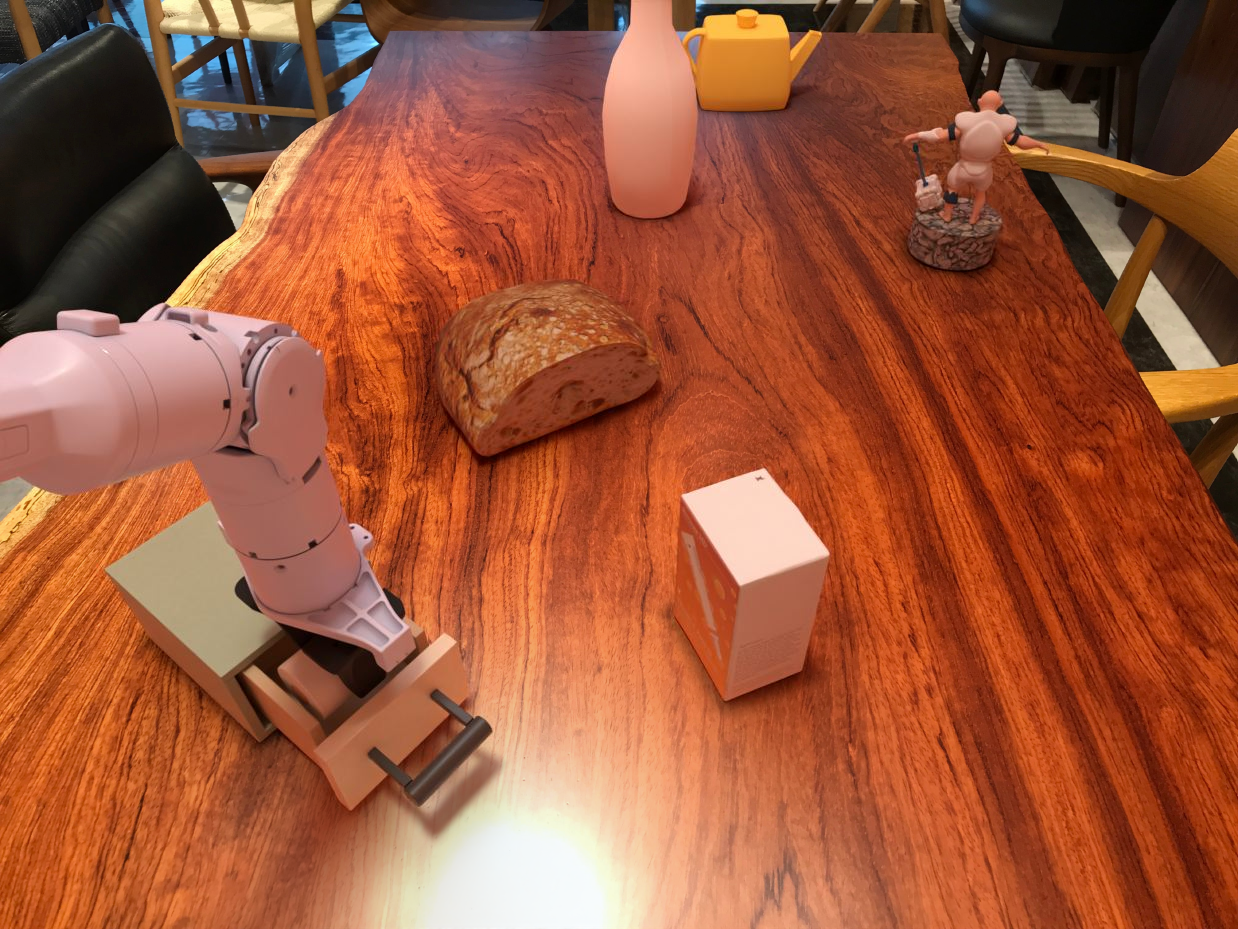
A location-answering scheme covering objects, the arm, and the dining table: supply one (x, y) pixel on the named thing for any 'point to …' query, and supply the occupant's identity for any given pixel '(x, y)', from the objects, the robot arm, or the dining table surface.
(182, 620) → the cabinet
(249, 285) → the dining table surface
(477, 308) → the bread
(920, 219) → the figurine
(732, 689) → the small box
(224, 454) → the robot arm
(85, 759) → the dining table surface
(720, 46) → the teapot
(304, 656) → the paper towel roll
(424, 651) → the drawer
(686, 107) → the bottle
